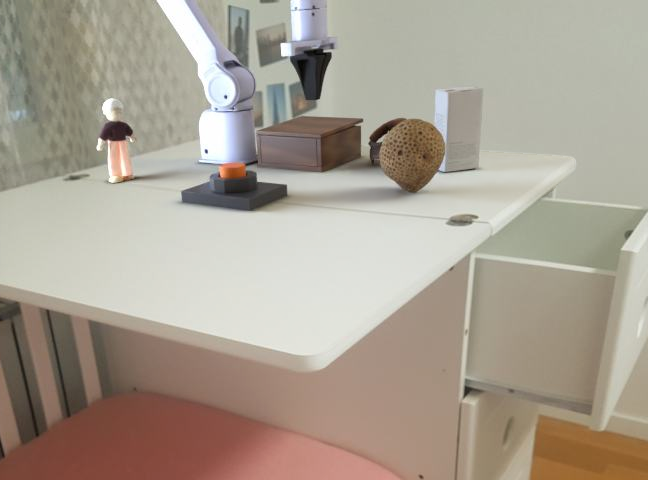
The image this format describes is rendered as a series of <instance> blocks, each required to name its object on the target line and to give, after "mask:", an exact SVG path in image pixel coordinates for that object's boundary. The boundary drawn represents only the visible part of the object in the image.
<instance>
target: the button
mask: <svg viewBox="0 0 648 480" xmlns="http://www.w3.org/2000/svg"><path fill="white" fill-rule="evenodd" d="M246 167H247V166H246V164H244V163H239V162H233V163H225V164H219V172H220V178H239V177H244V176H246V170H247V168H246Z"/></svg>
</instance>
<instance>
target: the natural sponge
mask: <svg viewBox="0 0 648 480" xmlns="http://www.w3.org/2000/svg"><path fill="white" fill-rule="evenodd" d="M406 119H407V120H404V121H402V122H400V123H399V124H398V125H396V126H395V127H394V128H392V129H391V130H390V131H388V133H387V134H385V135H384V138H383V139H382V141H381V142H382V146H381V148H380V159H379V164H380V167H381V170H382V172H383V173H384V175H385V176H387V177H388V178H389V179H390V180H391V181H393V182H395V184H396V185H397V186H398V187H400V188H401V189H402V190H403V191H405V192H408V193H415V192H418V191H420V190H422V189H423V188H425V187H426V186H427V185H428V184H429V183H430V182H431V181H432V179H433V178H434V177H435V176H436V174H437V173H438V171H440V170H439V168H440V166H441V164H442V162H443V159H444V155H445V142H444V139H443V137H442V135H441V133H440V132H439V131H438V130H437V128H436V127H435V126H434V125H435V124H433V123H431V122H429V121H424V120H423V119H420V118H406Z"/></svg>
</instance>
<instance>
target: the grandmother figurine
mask: <svg viewBox="0 0 648 480" xmlns="http://www.w3.org/2000/svg"><path fill="white" fill-rule="evenodd" d="M124 109H125V107H124V104H123V102H122V101H121V100H119V99H117V98H113V97H112V98H111V97H110V98H109V99H107V100H105V102H104V103H103V105H102V111H103V114H104V115H105V116H106V119H107V120H108V122H106V123H104V124H103V127H102V129H101V131H100V134H99V136H98V142H97V145H96V150H97V151H98V152H102V151H103V150H104V146H105V144H106V141H107V145H108V149H107V164H108V175H109V176H110V177H109V178H108V182H110V183H112V184H115V183H121V182H124V180H125V181H127V180H133V179H135V175H133V174H134V172H133V171H134V170H133V167H132V161H131V157H130V153H129V149H128V142H127V137H128V138H129V140H130V142H131V143H132V144H134V143H136V142H137V140H138V139H137V137H136V136H135V133H134V129H133V128H132V127H131V126H130V125H129V123H127V122H124V121H122V119H123V113H124Z"/></svg>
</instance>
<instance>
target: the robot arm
mask: <svg viewBox="0 0 648 480" xmlns="http://www.w3.org/2000/svg"><path fill="white" fill-rule="evenodd" d="M156 2H157V3H158V5H159V6H160V8H161V9H162V11H163V12H164V14H165V15H166V17H167V19H168V20H169V22H170V23H171V24H172V26H173V28H174V29H175V31H176V32H177V35H178V36H179V37H180V38H181V40H182V41H183V43H184V44H185V46H186V48H187V49H188V51H189V52H190V54H191V55H192V57H193V58H194V60H195V62H196V63H197V76H198V77H199V79H200V80H201V82H202V85H203V89H204V94H205V97H206V99H207V101H208V103H209V104H210V105H211V107H210V108H207V109H205V110H204V111H203V112H202V113H201V115H200V118H199V121H198V131H199V132H198V133H199V139H200V140H199V143H200V154H201V158H199V160H198V162H199V163H203V164H216V165H221V164H225V163H233V162H239V163H244V164H245V165H248V164H251V163H254V162H258V155H257V141H256V129H255V128H256V127H255V112H254V103H253V101H252V98H253V97H254V95H255V93H256V91H257V80H256V77H255V74H254V73H253V72H252V71H251V69H250V68H248V67H247V66H246V65H243V64H242V63H241V61H240V60H238V57H237V56H236V55H235V54H234V53H233V52H231V51H230V50H229V49H228V48H227V47H225V46H224V44H223V42H222V41H221V39H220V38H219V36H218V35H217V33H216V32H215V30H214V29H213V27H212V26H211V24H210V22H209V21H208V20H207V17H206V16H205V14H204V13H203V11H202V9H200V7H199V5H198V3H197V2H196V0H156ZM289 3H290V22H291V23H290V24H291V39H292V40H290V41H286V42H280V51H281V52H280V54H281V57H289V61H290V63H291V65H292V66H293V68H294V69H295V72H296V74H297V76H298V79H299V81H300V85H301V88H302V92H303V95H304V98H305V99H304V100H305V101H319V100H321V95H322V90H323V85H324V80H325V76H326V73H327V69H328V66H329V64H330V62H331V60H332V58H333V53H332V51H330V50H338V36H328V35H329V32H328V4H327V3H328V2H327V0H290V2H289ZM310 47H311V48H310Z"/></svg>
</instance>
